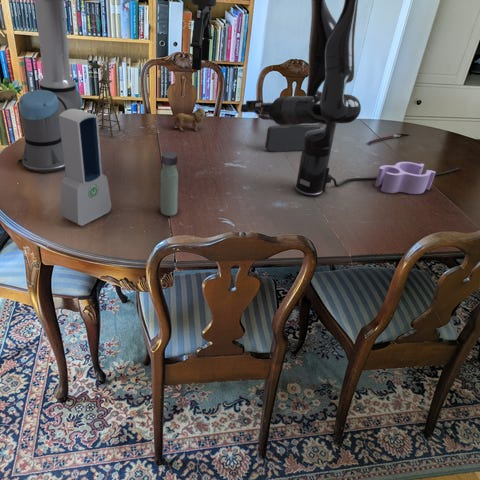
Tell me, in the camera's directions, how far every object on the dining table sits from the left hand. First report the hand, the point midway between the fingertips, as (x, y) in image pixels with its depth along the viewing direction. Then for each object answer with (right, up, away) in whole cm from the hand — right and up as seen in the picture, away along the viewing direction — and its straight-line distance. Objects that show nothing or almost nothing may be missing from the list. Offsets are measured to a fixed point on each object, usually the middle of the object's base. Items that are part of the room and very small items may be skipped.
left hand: (200, 65), depth 149 cm
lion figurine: (-10, -8, +52) cm, 53 cm away
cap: (-7, -32, -18) cm, 38 cm away
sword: (+81, -10, +64) cm, 104 cm away
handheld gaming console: (+34, -19, +42) cm, 57 cm away
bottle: (-9, -47, -9) cm, 49 cm away
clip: (+72, -37, +22) cm, 83 cm away
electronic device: (-31, -49, -15) cm, 60 cm away
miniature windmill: (-41, -12, +40) cm, 59 cm away
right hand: (+16, -17, -9) cm, 25 cm away
